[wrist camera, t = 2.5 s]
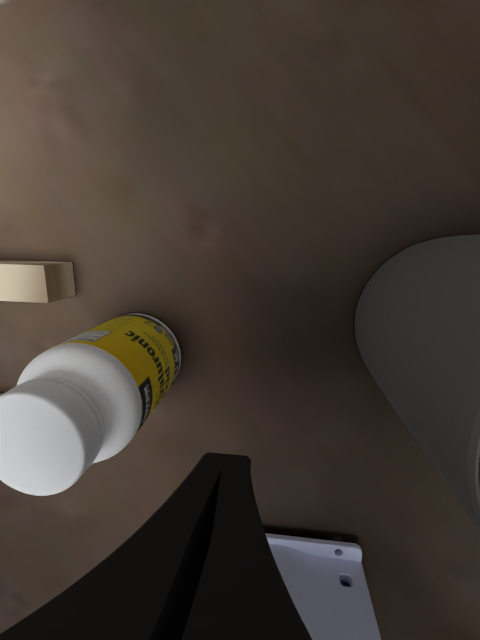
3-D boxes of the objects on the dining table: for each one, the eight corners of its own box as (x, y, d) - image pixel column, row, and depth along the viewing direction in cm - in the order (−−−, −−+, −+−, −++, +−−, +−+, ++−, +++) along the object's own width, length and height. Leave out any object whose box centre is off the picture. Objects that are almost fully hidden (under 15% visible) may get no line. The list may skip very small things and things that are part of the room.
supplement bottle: (194, 383, 21) (125, 504, 11) (117, 399, 22) (-7, 524, 12) (168, 301, 20) (67, 359, 10) (88, 322, 21) (-73, 392, 11)
